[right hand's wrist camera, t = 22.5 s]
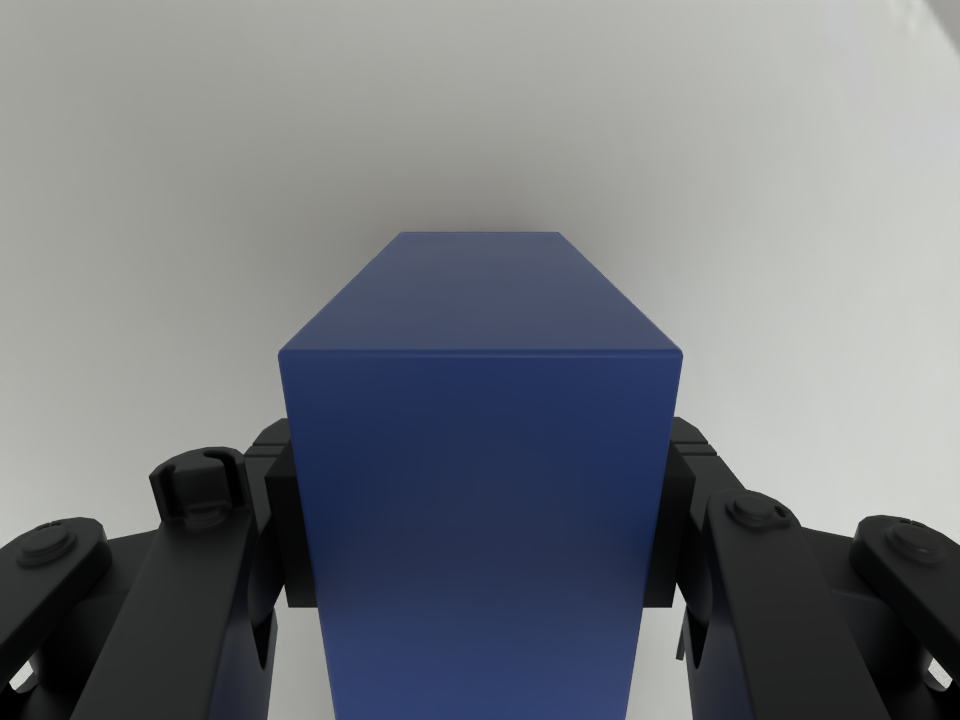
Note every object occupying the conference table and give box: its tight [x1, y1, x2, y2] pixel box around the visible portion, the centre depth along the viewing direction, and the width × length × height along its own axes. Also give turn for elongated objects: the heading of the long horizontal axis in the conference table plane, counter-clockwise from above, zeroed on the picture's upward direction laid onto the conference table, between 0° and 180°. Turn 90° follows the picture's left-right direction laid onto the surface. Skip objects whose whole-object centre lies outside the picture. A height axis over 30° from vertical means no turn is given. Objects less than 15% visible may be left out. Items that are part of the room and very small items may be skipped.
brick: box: [278, 232, 683, 720], centre depth 13 cm, size 5×7×11 cm
